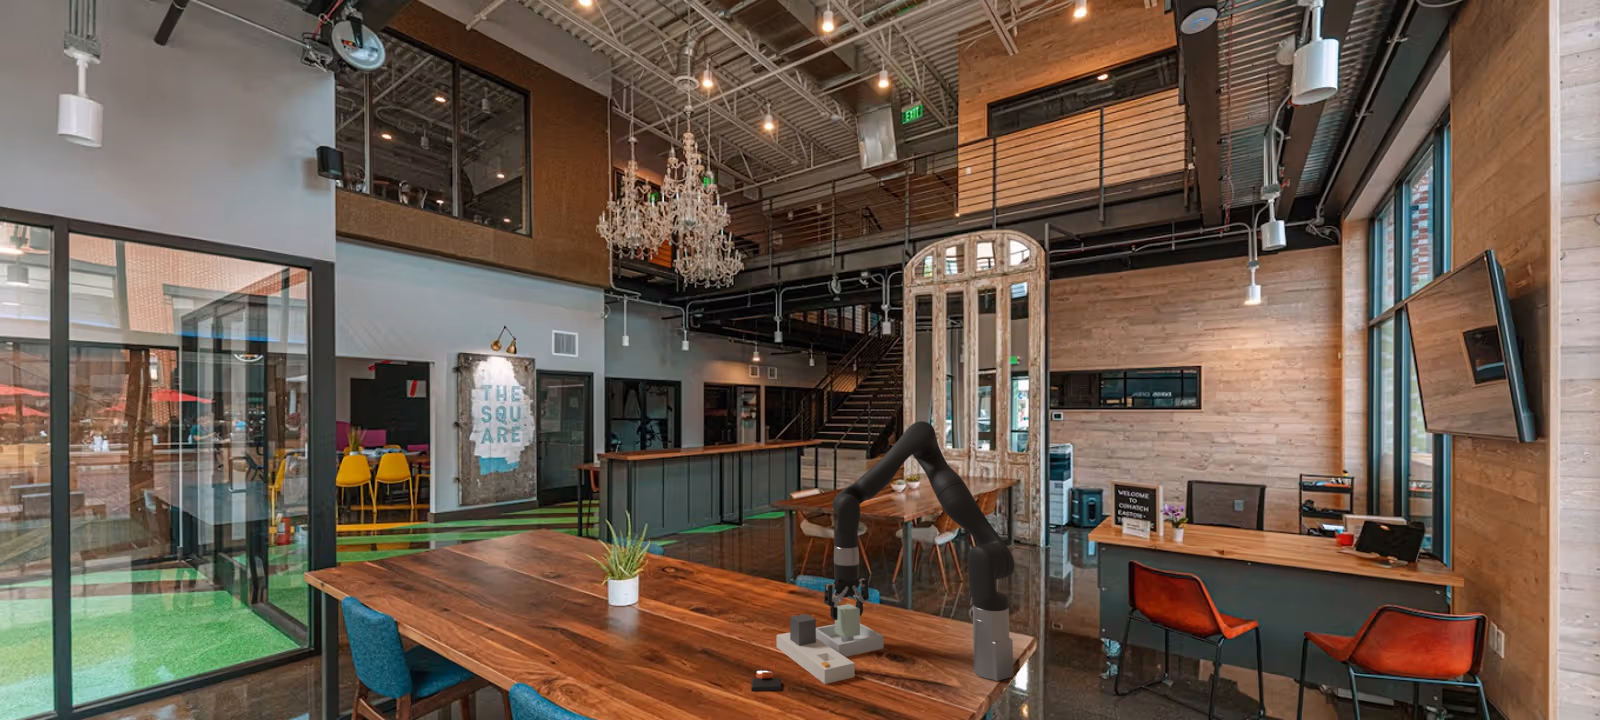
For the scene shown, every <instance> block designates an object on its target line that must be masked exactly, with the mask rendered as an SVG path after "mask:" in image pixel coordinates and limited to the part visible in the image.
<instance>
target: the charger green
mask: <svg viewBox="0 0 1600 720" xmlns="http://www.w3.org/2000/svg"><path fill="white" fill-rule="evenodd" d="M837 607H838V620H834V624H835V633H837V634H838V635H840V636H841V641H842V642H848V641H853V640H854V636H858V635H860V623H861V616H860V609H859V608H857V607H856V605H853V604H851V603H848V604H842V605H841V604H840V605H837Z"/></svg>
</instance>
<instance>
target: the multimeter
mask: <svg viewBox="0 0 1600 720" xmlns="http://www.w3.org/2000/svg"><path fill="white" fill-rule="evenodd" d="M772 665H773V669H775V667H776V662H774V663H773V664H772ZM753 671H754V672H755V673H756V674H755V676H756V678H752V679H751V687H750V689H751V692H781V690H782V679H781V678H779V677H778V678H777V677H775V678H773V675H774V672H773V671H768V670H764V668H759V669H755V670H753Z"/></svg>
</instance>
